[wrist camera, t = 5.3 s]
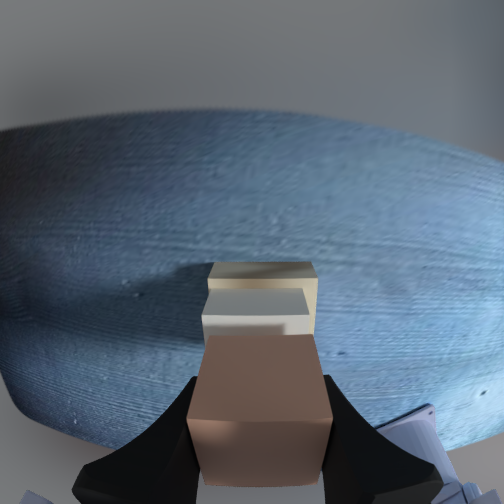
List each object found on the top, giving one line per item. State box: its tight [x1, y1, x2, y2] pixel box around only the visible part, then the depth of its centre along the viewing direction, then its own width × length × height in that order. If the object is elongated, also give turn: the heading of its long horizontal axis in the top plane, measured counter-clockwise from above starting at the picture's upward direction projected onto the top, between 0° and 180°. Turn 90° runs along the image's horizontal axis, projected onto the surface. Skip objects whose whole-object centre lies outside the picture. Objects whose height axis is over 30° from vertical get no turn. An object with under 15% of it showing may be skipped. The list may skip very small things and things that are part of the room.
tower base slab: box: [208, 262, 318, 334], centre depth 19 cm, size 6×6×3 cm
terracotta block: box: [186, 334, 333, 487], centre depth 11 cm, size 4×4×5 cm
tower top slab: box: [202, 288, 310, 349], centre depth 16 cm, size 5×5×3 cm
